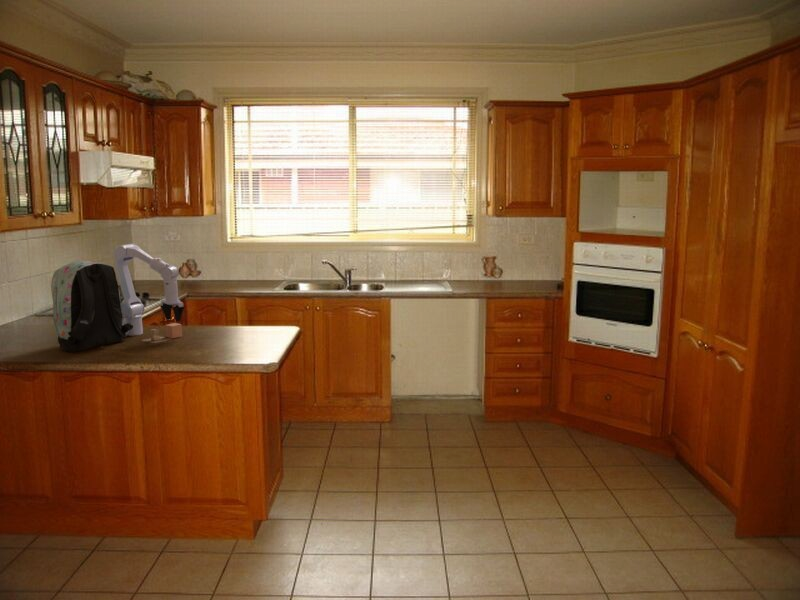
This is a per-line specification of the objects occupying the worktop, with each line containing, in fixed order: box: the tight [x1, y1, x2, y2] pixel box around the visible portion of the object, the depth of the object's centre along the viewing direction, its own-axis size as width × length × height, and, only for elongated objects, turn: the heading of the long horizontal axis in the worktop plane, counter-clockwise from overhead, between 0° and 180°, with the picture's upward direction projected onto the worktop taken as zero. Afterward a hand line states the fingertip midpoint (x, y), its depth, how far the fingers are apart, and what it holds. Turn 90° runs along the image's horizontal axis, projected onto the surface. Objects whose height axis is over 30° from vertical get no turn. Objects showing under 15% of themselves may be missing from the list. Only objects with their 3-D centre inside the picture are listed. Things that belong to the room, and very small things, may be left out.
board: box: [141, 335, 173, 344], centre depth 307 cm, size 10×10×1 cm
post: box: [150, 328, 160, 341], centre depth 306 cm, size 3×3×5 cm
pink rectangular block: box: [165, 322, 183, 339], centre depth 312 cm, size 5×5×7 cm
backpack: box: [50, 259, 133, 353], centre depth 297 cm, size 32×24×39 cm
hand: (173, 320), depth 311 cm, fingers open, 7 cm apart
